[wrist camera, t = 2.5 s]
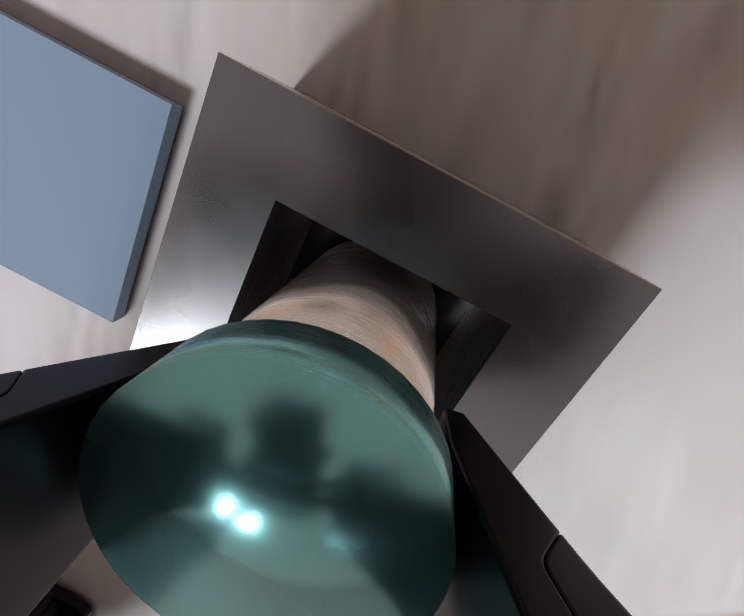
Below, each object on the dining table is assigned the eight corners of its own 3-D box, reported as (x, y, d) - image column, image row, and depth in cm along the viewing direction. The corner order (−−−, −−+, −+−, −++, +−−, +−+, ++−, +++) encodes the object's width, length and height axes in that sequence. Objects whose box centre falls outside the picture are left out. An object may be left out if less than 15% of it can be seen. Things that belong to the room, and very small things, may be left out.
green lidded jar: (420, 394, 15) (395, 707, 6) (281, 353, 15) (80, 600, 7) (466, 254, 13) (519, 433, 5) (307, 211, 13) (74, 302, 5)
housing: (426, 473, 16) (421, 582, 12) (194, 353, 16) (108, 421, 12) (589, 246, 13) (662, 289, 9) (293, 88, 13) (218, 51, 8)
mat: (123, 316, 16) (112, 322, 15) (-68, 217, 16) (-87, 219, 15) (183, 106, 13) (171, 104, 13) (-51, -18, 13) (-73, -26, 12)
